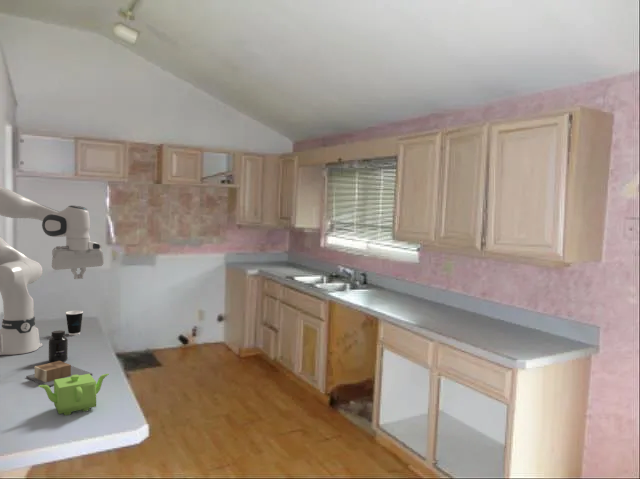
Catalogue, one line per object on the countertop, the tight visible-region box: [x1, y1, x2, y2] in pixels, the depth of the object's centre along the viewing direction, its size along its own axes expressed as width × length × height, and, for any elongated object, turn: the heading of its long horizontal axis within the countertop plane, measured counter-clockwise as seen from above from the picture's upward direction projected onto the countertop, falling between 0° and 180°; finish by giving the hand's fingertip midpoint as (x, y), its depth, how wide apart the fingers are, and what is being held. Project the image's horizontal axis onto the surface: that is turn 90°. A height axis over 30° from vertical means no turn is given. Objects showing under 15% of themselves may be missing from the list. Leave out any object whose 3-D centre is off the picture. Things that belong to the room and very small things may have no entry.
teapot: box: [37, 373, 110, 416], centre depth 150 cm, size 15×13×11 cm
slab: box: [34, 361, 72, 382], centre depth 177 cm, size 8×4×9 cm
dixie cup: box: [65, 310, 84, 336], centre depth 239 cm, size 8×8×11 cm
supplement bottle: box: [48, 329, 69, 363], centre depth 197 cm, size 7×7×12 cm
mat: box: [26, 365, 93, 388], centre depth 179 cm, size 16×16×1 cm
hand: (78, 278), depth 200 cm, fingers closed
